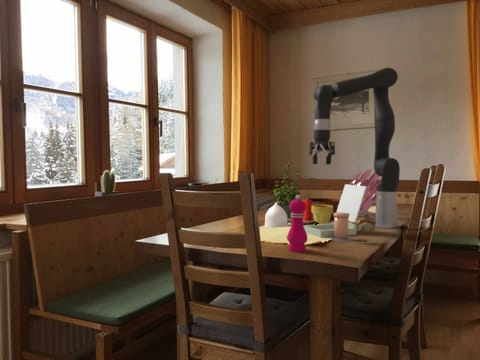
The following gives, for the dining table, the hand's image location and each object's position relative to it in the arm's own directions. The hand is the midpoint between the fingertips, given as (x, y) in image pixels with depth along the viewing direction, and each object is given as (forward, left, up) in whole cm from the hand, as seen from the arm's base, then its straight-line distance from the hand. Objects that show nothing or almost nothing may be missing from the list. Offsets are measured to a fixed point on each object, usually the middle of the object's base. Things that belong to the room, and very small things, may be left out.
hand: (321, 164), depth 197 cm
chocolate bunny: (-14, +16, -30) cm, 37 cm away
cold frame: (+3, +15, -30) cm, 34 cm away
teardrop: (+16, -14, -30) cm, 37 cm away
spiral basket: (-48, -24, -30) cm, 62 cm away
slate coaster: (+8, +27, -30) cm, 41 cm away
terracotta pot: (+8, +27, -29) cm, 40 cm away
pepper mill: (+34, +35, -30) cm, 57 cm away
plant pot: (-5, -6, -30) cm, 31 cm away
